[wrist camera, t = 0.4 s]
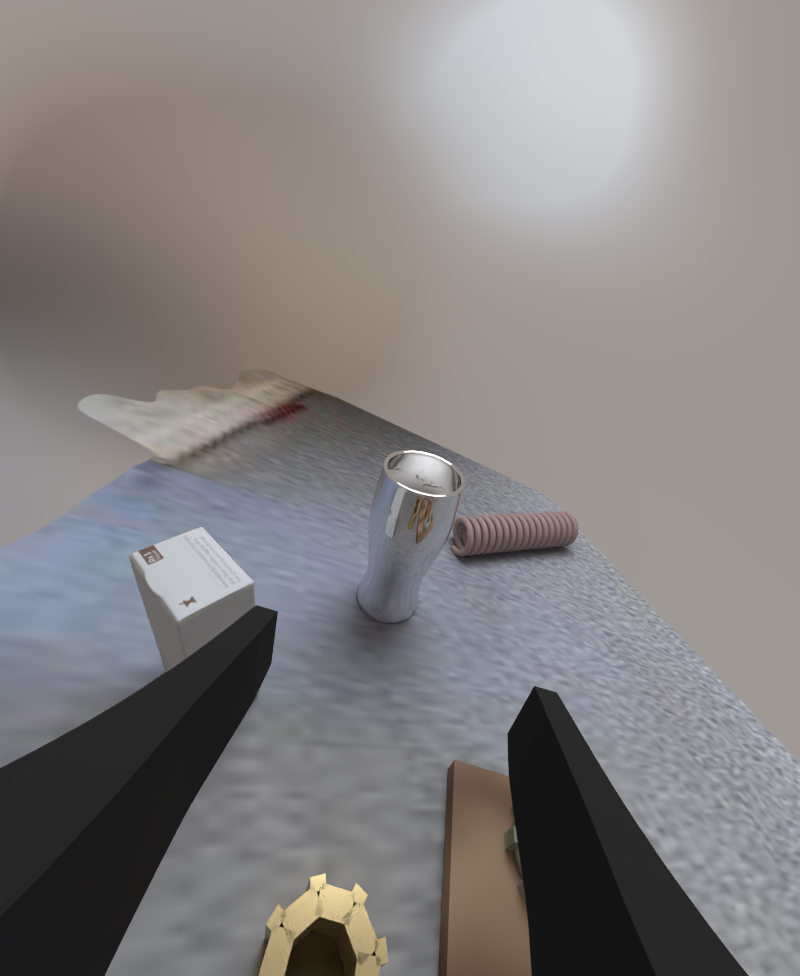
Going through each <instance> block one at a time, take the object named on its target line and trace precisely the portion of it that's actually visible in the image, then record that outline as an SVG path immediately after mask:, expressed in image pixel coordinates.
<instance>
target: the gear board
mask: <svg viewBox="0 0 800 976" xmlns="http://www.w3.org/2000/svg"><path fill="white" fill-rule="evenodd" d="M438 976H532V973H531V958H530V943H529V928H528V917H527V908H526V899H525V891H524V884H523V877H522V870H521V862H520V855H519V848H518V841H517V834H516V827H515V820H514V812H513V805H512V797H511V790H510V782H509V776H506V775H503V774H500V773H496V772H493V771H489V770H486V769H483V768H479V767H476V766H473V765H469V764H466V763H462V762H459V761H456V760H454V761H453V763H452V764H451V766H450V767H449V768H448V781H447V802H446V823H445V844H444V865H443V886H442V907H441V928H440V949H439V970H438Z"/></svg>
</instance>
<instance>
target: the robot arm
mask: <svg viewBox="0 0 800 976" xmlns="http://www.w3.org/2000/svg"><path fill="white" fill-rule="evenodd" d="M277 614H278V611H274V610H271V609H267V608H264V607H260V606H255V607H252V608H251V609H250V610H249V611H248V612H246V613H245V614H244V615H243V616H241V617H240V618H239V619H238V620H236V621H235V622H234V623H233V624H231V625H230V626H229V627H228V628H226V629H225V630H224V631H222V632H221V633H220V634H218V635H217V636H216V637H215V638H213V639H212V640H211V641H209V642H208V643H207V644H205V645H204V646H202V647H201V648H200V649H198V650H197V651H196V652H194V653H193V654H191V655H190V656H189V657H187V658H186V659H185V660H183V661H182V662H180V663H179V664H178V665H176V666H175V667H173V668H172V669H170V670H169V671H167V672H166V673H164V674H163V675H161V676H160V677H158V678H157V679H155V680H154V681H152V682H151V683H149V684H148V685H146V686H145V687H143V688H142V689H140V690H139V691H137V692H135V693H134V694H132V695H131V696H129V697H128V698H126V699H124V700H123V701H121V702H119V703H118V704H116V705H115V706H113V707H111V708H110V709H108V710H106V711H105V712H103V713H101V714H99V715H98V716H96V717H94V718H93V719H91V720H89V721H87V722H86V723H84V724H82V725H80V726H79V727H77V728H75V729H73V730H71V731H70V732H68V733H66V734H64V735H62V736H60V737H59V738H57V739H55V740H53V741H51V742H49V743H48V744H46V745H44V746H42V747H40V748H38V749H37V750H35V751H33V752H31V753H29V754H27V755H25V756H23V757H21V758H19V759H17V760H15V761H13V762H11V763H10V764H8V765H6V766H3V767H1V768H0V976H105V973H106V971H107V969H108V967H109V965H110V963H111V961H112V959H113V957H114V955H115V953H116V951H117V949H118V947H119V945H120V943H121V941H122V939H123V936H124V934H125V932H126V930H127V928H128V926H129V924H130V922H131V920H132V918H133V916H134V914H135V912H136V910H137V908H138V906H139V904H140V902H141V900H142V898H143V896H144V894H145V892H146V890H147V888H148V886H149V884H150V882H151V880H152V878H153V876H154V874H155V872H156V870H157V868H158V866H159V864H160V862H161V861H162V859H163V857H164V855H165V853H166V851H167V849H168V847H169V845H170V843H171V841H172V839H173V837H174V835H175V833H176V831H177V829H178V828H179V826H180V824H181V822H182V820H183V818H184V816H185V814H186V812H187V811H188V809H189V807H190V805H191V804H192V802H193V800H194V798H195V796H196V795H197V793H198V791H199V790H200V788H201V786H202V785H203V783H204V781H205V780H206V778H207V777H208V775H209V773H210V772H211V770H212V768H213V767H214V765H215V763H216V762H217V760H218V758H219V757H220V755H221V754H222V752H223V750H224V749H225V747H226V745H227V744H228V742H229V740H230V739H231V737H232V736H233V734H234V732H235V731H236V729H237V727H238V726H239V724H240V722H241V721H242V719H243V717H244V716H245V714H246V712H247V711H248V709H249V707H250V706H251V704H252V702H253V700H254V698H255V696H256V694H257V692H258V690H259V688H260V686H261V684H262V682H263V680H264V678H265V676H266V674H267V671H268V669H269V667H270V665H271V661H272V653H273V645H274V637H275V629H276V621H277ZM508 766H509V782H510V790H511V797H512V805H513V812H514V820H515V827H516V834H517V841H518V848H519V855H520V862H521V870H522V877H523V884H524V891H525V899H526V908H527V917H528V928H529V943H530V958H531V973H532V976H748V975H747V973H746V972H745V971H744V970H743V968H742V967H741V966H740V965H739V963H738V962H737V961H736V960H735V958H734V957H733V956H732V954H731V953H730V952H729V951H728V949H727V948H726V947H725V945H724V944H723V943H722V942H721V940H720V939H719V938H718V936H717V935H716V934H715V932H714V931H713V930H712V929H711V927H710V926H709V925H708V923H707V922H706V921H705V919H704V918H703V916H702V915H701V914H700V912H699V911H698V910H697V908H696V907H695V906H694V904H693V903H692V902H691V900H690V899H689V897H688V896H687V895H686V893H685V892H684V891H683V889H682V888H681V887H680V885H679V884H678V882H677V881H676V880H675V878H674V877H673V876H672V874H671V873H670V871H669V870H668V868H667V867H666V866H665V864H664V863H663V861H662V860H661V859H660V857H659V856H658V854H657V853H656V851H655V850H654V848H653V847H652V845H651V844H650V842H649V841H648V839H647V838H646V836H645V835H644V833H643V832H642V830H641V829H640V827H639V826H638V824H637V823H636V821H635V820H634V818H633V817H632V815H631V814H630V812H629V811H628V809H627V808H626V806H625V805H624V803H623V801H622V800H621V798H620V797H619V795H618V794H617V792H616V790H615V789H614V787H613V786H612V784H611V782H610V781H609V779H608V778H607V776H606V774H605V773H604V771H603V769H602V768H601V766H600V764H599V763H598V761H597V760H596V758H595V756H594V755H593V753H592V751H591V750H590V748H589V746H588V744H587V743H586V741H585V739H584V738H583V736H582V734H581V733H580V731H579V729H578V728H577V726H576V724H575V722H574V721H573V719H572V717H571V716H570V714H569V712H568V711H567V709H566V707H565V705H564V704H563V702H562V700H561V699H560V697H559V695H558V694H557V693H556V692H553V691H549V690H546V689H543V688H539V687H536V686H534V688H533V689H532V691H531V693H530V695H529V697H528V698H527V700H526V702H525V704H524V705H523V707H522V709H521V711H520V713H519V714H518V716H517V718H516V720H515V721H514V723H513V725H512V727H511V729H510V730H509V732H508Z"/></svg>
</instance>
